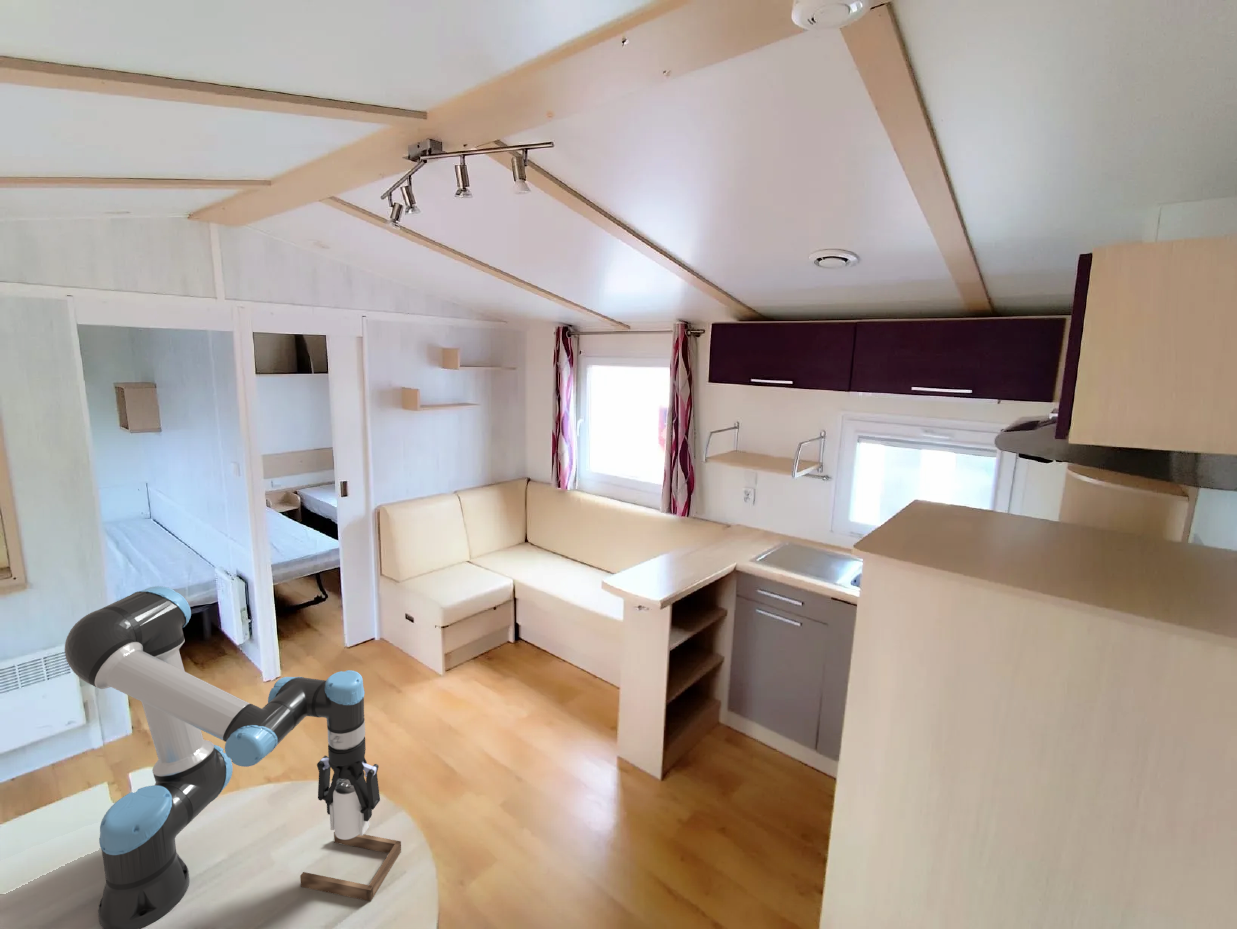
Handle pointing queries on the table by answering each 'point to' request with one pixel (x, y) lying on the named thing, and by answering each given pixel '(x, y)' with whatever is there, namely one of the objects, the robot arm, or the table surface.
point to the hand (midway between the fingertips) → (350, 827)
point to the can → (346, 811)
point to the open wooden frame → (351, 887)
